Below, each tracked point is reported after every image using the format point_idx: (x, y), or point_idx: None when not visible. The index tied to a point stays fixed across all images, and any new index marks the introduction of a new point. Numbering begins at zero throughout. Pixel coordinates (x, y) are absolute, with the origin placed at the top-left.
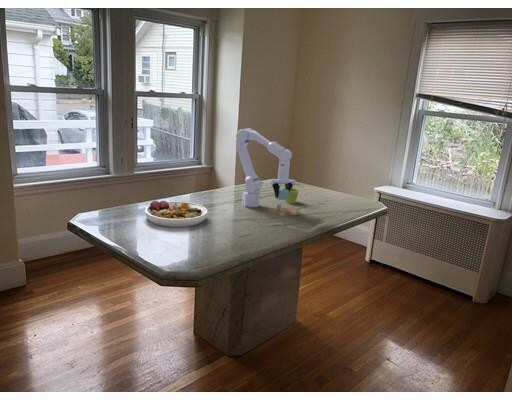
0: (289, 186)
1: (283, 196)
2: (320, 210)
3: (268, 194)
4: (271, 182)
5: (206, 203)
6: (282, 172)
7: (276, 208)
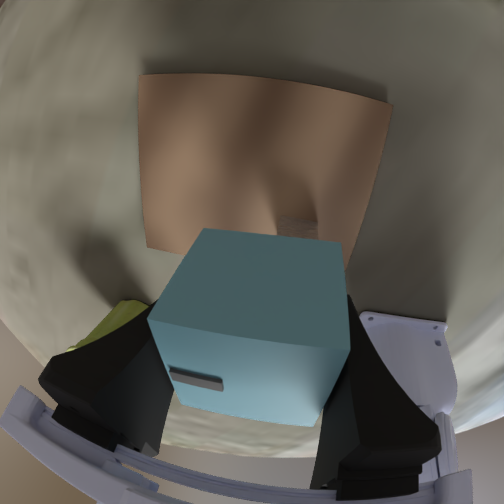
0: (106, 382)
1: (273, 263)
2: (28, 183)
3: (195, 410)
4: (472, 498)
5: (480, 393)
6: None
7: (317, 234)
